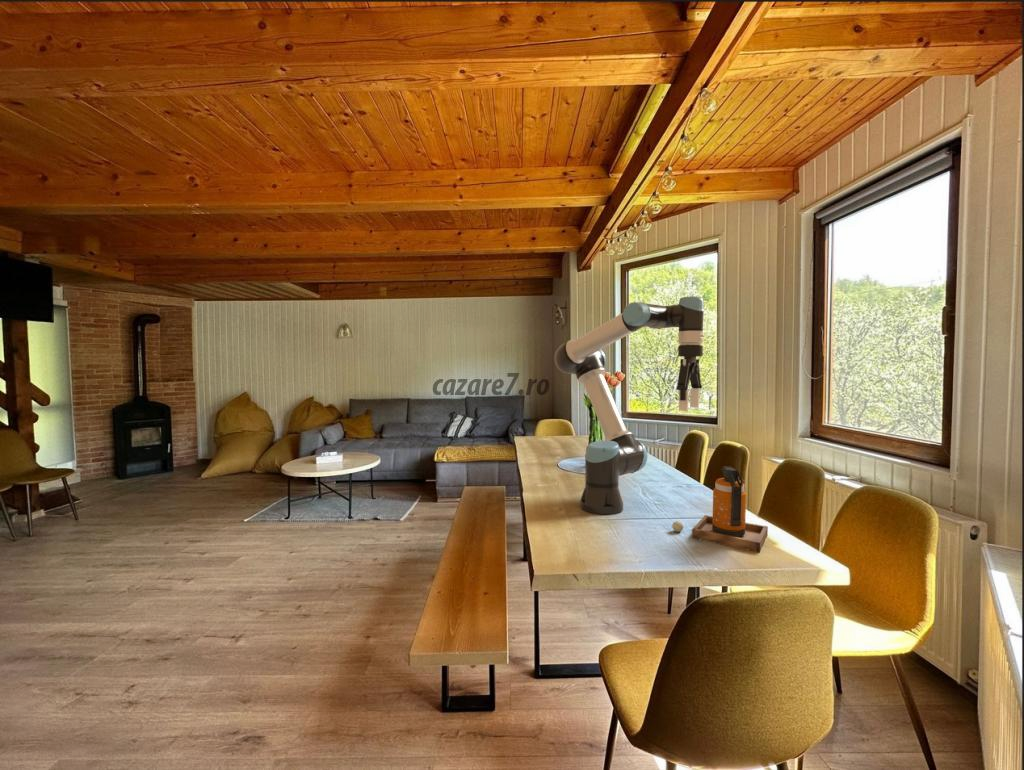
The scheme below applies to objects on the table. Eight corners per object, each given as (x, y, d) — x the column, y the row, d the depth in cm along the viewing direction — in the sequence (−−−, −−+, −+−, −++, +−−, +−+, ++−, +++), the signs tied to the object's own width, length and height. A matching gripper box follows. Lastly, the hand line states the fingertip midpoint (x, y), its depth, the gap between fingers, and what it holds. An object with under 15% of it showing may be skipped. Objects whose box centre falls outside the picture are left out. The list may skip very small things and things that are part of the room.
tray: (691, 537, 140) (692, 529, 139) (704, 523, 153) (705, 515, 153) (759, 552, 129) (760, 542, 129) (767, 534, 142) (767, 526, 142)
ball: (670, 531, 145) (671, 521, 144) (673, 528, 147) (674, 518, 147) (681, 534, 143) (681, 523, 143) (684, 531, 145) (684, 520, 145)
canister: (737, 528, 146) (739, 464, 145) (753, 541, 135) (755, 472, 134) (708, 527, 146) (709, 463, 145) (721, 540, 135) (722, 471, 134)
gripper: (692, 342, 142) (690, 412, 143) (711, 345, 162) (709, 406, 163) (667, 343, 146) (665, 411, 147) (688, 345, 167) (687, 405, 168)
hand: (689, 409), depth 155 cm, fingers open, 13 cm apart
